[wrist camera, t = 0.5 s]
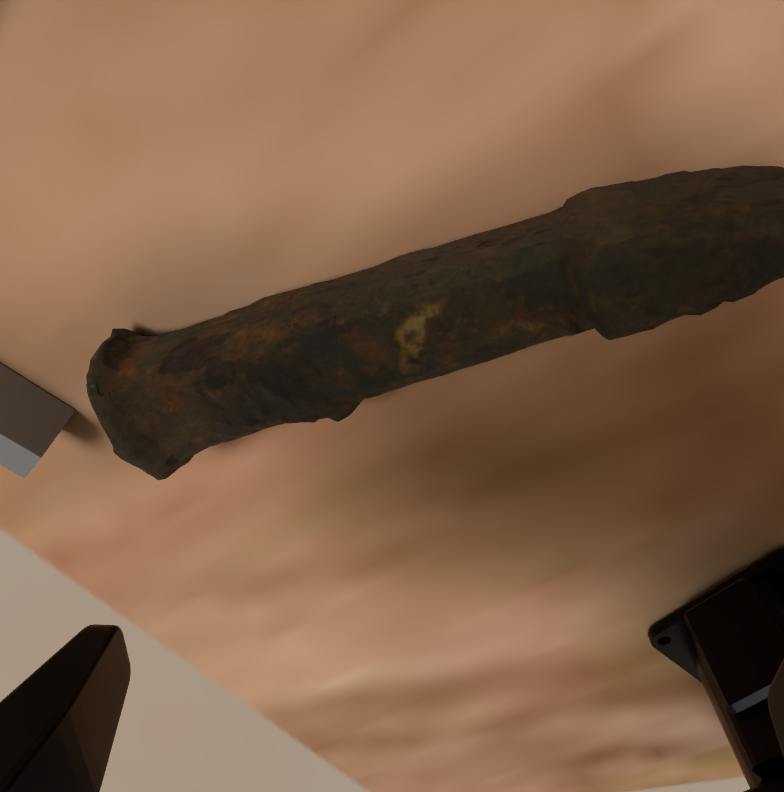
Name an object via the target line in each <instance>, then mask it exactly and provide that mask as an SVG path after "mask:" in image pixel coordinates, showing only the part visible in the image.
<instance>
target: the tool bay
mask: <svg viewBox="0 0 784 792" xmlns="http://www.w3.org/2000/svg"><path fill="white" fill-rule="evenodd" d="M75 411H76V410H74V409H73V408H71V407H69V406H68V405H66V404H65V403H63V402H61V401H60V400H58V399H57V398H55V397H53V396H52V395H50V394H49V393H47V392H45V391H44V390H42V389H41V388H39V387H37V386H36V385H34V384H33V383H31V382H29V381H28V380H26V379H25V378H23V377H21V376H20V375H18V374H17V373H15V372H13V371H12V370H10V369H9V368H7V367H5V366H4V365H2V364H1V363H0V464H1V465H2V466H4V467H6V468H8V469H9V470H11V471H13V472H15V473H16V474H18V475H20V476H22V477H23V478H25V477H26V476H27V475H28V473H29V472H30V471H31V470H32V468H33V467H34V466H35V465H36V463H37V462H38V461H39V460H40V458H41V457H42V456H43V454H44V453H45V452H46V450H47V449H48V448H49V446H50V445H51V443H52V442H53V441H54V439H55V438H56V437H57V435H58V434H59V432H60V431H61V430H62V428H63V427H64V426H65V424H66V423H67V421H68V420H69V419H70V417H71V416H72V415H73V413H74V412H75Z"/></svg>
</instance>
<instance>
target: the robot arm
mask: <svg viewBox="0 0 784 792" xmlns="http://www.w3.org/2000/svg"><path fill="white" fill-rule="evenodd" d="M648 637H649V639H650V642H651V644H652V646H653V647H654V648H656V649H657V650H658V651H660V652H661V653H662V654H664V655H665V656H666V657H668V658H669V659H671V660H672V661H673V662H675V663H676V664H677V665H679V666H680V667H681V668H683V669H684V670H686V671H687V672H688V673H690V674H691V675H692V676H694V677H695V678H696V679H698V680H699V681H700V682H702V683H703V685H704V687H705V689H706V692H707V694H708V696H709V698H710V701H711V703H712V705H713V707H714V709H715V712H716V714H717V716H718V718H719V720H720V723H721V725H722V727H723V729H724V732H725V734H726V736H727V738H728V740H729V743H730V745H731V747H732V749H733V752H734V754H735V756H736V758H737V760H738V763H739V765H740V767H741V769H742V772H743V774H744V776H745V778H746V780H747V783H748V785H749V787H750V789H749V790H747V791H744V792H784V548H782V549H780V550H778V551H776V552H774V553H773V554H771V555H770V556H768V557H766V558H765V559H763V560H761V561H760V562H758V563H756V564H755V565H753V566H752V567H750V568H748V569H747V570H745V571H743V572H742V573H740V574H738V575H737V576H735V577H734V578H732V579H730V580H729V581H727V582H725V583H724V584H722V585H720V586H719V587H717V588H716V589H714V590H712V591H711V592H709V593H707V594H706V595H704V596H702V597H701V598H699V599H698V600H696V601H694V602H693V603H691V604H689V605H688V606H686V607H684V608H683V609H681V610H680V611H678V612H676V613H675V614H673V615H671V616H670V617H668V618H666V619H665V620H663V621H662V622H660V623H658V624H657V625H655V626H653V627H652V628H651V629H650V630H649V632H648ZM130 672H131V671H130V662H129V658H128V653H127V649H126V645H125V640H124V637H123V633H122V630H121V629H120V628H119V627H118V626H115V625H89V626H87V627H86V628H84V629H83V630H81V631H80V632H79V633H78V634H77V635H76V636H75V637H74V638H72V639H71V640H70V641H69V642H68V643H67V644H66V645H64V646H63V647H62V648H61V649H60V650H59V651H58V652H56V653H55V654H54V655H53V656H52V657H51V658H50V659H49V660H47V661H46V662H45V663H44V664H43V665H42V666H41V667H40V668H38V669H37V670H36V671H35V672H34V673H33V674H32V675H30V676H29V677H28V678H27V679H26V680H25V681H24V682H23V683H22V684H20V685H19V686H18V687H17V688H16V689H15V690H13V691H12V692H11V693H10V694H9V695H8V696H7V697H6V698H5V699H3V700H2V701H1V702H0V792H99V791H100V788H101V785H102V781H103V778H104V773H105V770H106V766H107V762H108V759H109V755H110V751H111V748H112V744H113V741H114V737H115V733H116V729H117V725H118V722H119V718H120V715H121V711H122V707H123V704H124V700H125V696H126V692H127V689H128V685H129V681H130Z"/></svg>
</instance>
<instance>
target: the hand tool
mask: <svg viewBox="0 0 784 792" xmlns="http://www.w3.org/2000/svg"><path fill="white" fill-rule="evenodd" d="M783 277H784V168H783V167H775V166H738V167H731V168H724V169H720V168H714V169H708V170H702V171H696V172H687V171H681V172H676V173H671V174H666V175H663V176H660V177H657V178H652V179H647V180H642V181H637V182H632V181H631V182H626V183H620V184H615V185H609V186H603V187H595V188H590V189H588V190H586V191H583V192H581V193H578V194H576V195H574V196H573V197H571V198H569V199H567V200H566V202H565V204H564V206H563V207H561V208H559V209H557V210H555V211H553V212H551V213H547V214H544V215H540V216H537V217H534V218H530V219H527V220H524V221H521V222H518V223H515V224H511V225H508V226H504V227H501V228H497V229H494V230H490V231H487V232H483V233H479V234H475V235H472V236H469V237H466V238H462V239H459V240H456V241H453V242H450V243H447V244H444V245H441V246H438V247H435V248H431V249H424V250H420V251H416V252H412V253H408V254H405V255H402V256H399V257H396V258H394V259H391V260H389V261H387V262H384V263H382V264H380V265H377V266H375V267H373V268H370V269H366V270H363V271H359V272H356V273H352V274H349V275H346V276H343V277H340V278H338V279H335V280H330V281H325V282H320V283H315V284H312V285H310V286H307V287H303V288H299V289H296V290H292V291H288V292H284V293H280V294H276V295H272V296H268V297H264V298H262V299H260V300H258V301H256V302H255V303H253V304H251V305H249V306H246V307H243V308H239V309H236V310H232V311H229V312H228V313H226V314H225V315H223V316H220V317H217V318H214V319H210V320H207V321H204V322H201V323H198V324H195V325H193V326H190V327H188V328H185V329H181V330H177V331H173V332H169V333H165V334H162V335H158V336H143V335H141V334H139V333H137V332H133V331H130V330H127V329H113V330H112V334H111V337H110V338H108V339H107V340H105V341H104V342H103V343H102V344H101V346H100V347H99V349H98V350H97V351H96V353H95V354H94V356H93V357H92V358H91V360H90V367H89V371H88V373H87V376H86V377H87V392H88V396H89V399H90V402H91V405H92V407H93V409H94V411H95V413H96V415H97V417H98V419H99V421H100V423H101V425H102V427H103V429H104V430H105V432H106V434H107V436H108V438H109V439H110V441H111V443H112V445H113V451H114V453H115V454H116V455H118V456H119V457H120V458H121V459H123V460H124V461H126V462H128V463H130V464H132V465H134V466H136V467H138V468H140V469H142V470H143V471H145V472H146V473H148V474H149V475H151V476H153V477H155V478H156V479H157V480H161V479H166V478H167V477H169V476H170V475H171V474H173V473H174V472H175V471H176V470H177V469H178V468H180V467H182V466H183V465H185V464H186V463H188V462H189V461H190V460H191V458H192V457H193V456H194V455H195V454H197V453H198V452H200V451H202V450H204V449H206V448H208V447H210V446H213V445H217V444H220V443H222V442H228V441H231V440H234V439H237V438H240V437H242V436H246V435H250V434H253V433H255V432H258V431H260V430H263V429H265V428H269V427H272V426H276V425H280V424H284V423H298V422H316V421H317V420H318V419H323V418H330V419H332V420H334V421H337V422H338V421H340V420H342V419H344V418H346V417H347V416H349V415H350V414H351V413H352V412H353V411H354V410H355V409H356V407H357V406H358V405H359V404H360V402H361V401H362V400H364V399H366V398H370V397H374V396H378V395H381V394H383V393H385V392H388V391H391V390H394V389H398V388H401V387H404V386H407V385H410V384H413V383H416V382H420V381H423V380H427V379H430V378H434V377H438V376H442V375H445V374H448V373H451V372H454V371H457V370H459V369H462V368H466V367H469V366H473V365H476V364H480V363H483V362H487V361H490V360H492V359H495V358H498V357H501V356H504V355H507V354H510V353H513V352H516V351H518V350H521V349H524V348H527V347H530V346H532V345H535V344H538V343H541V342H544V341H548V340H552V339H555V338H559V337H563V336H567V335H575V334H578V333H581V332H584V331H587V330H590V329H593V328H595V329H596V330H597V331H598V332H599V333H600V334H601V335H602V336H603V337H605V338H607V339H609V340H612V339H617V338H621V337H625V336H629V335H632V334H635V333H638V332H642V331H646V330H651V329H654V328H655V327H657V326H659V325H661V324H663V323H665V322H667V321H669V320H672V319H674V318H677V317H680V316H682V315H702V314H704V313H706V312H709V311H711V310H712V309H714V308H716V307H718V306H719V305H720V304H721V303H722V302H723V301H727V302H735V301H738V300H740V299H742V298H745V297H747V296H750V295H752V294H754V293H756V291H757V290H759V289H760V288H762V287H764V286H765V285H767V284H769V283H771V282H773V281H775V280H777V279H780V278H783Z"/></svg>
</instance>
